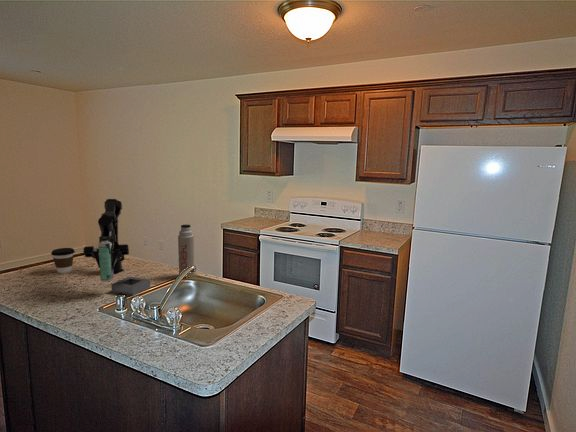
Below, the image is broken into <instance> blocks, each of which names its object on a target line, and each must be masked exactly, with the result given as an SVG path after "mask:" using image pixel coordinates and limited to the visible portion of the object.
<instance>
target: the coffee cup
mask: <svg viewBox="0 0 576 432" xmlns="http://www.w3.org/2000/svg"><path fill="white" fill-rule="evenodd" d="M75 252H76V251H75V250H74V248H72V247H61V248H55V249H53V250H52V251H51V253H50V254H51V256H52V258H53V262H54V266H55V268H56V272H57V273H59V274H67V273H70V272H71V271H72V269H73V263H74V254H75Z"/></svg>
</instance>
